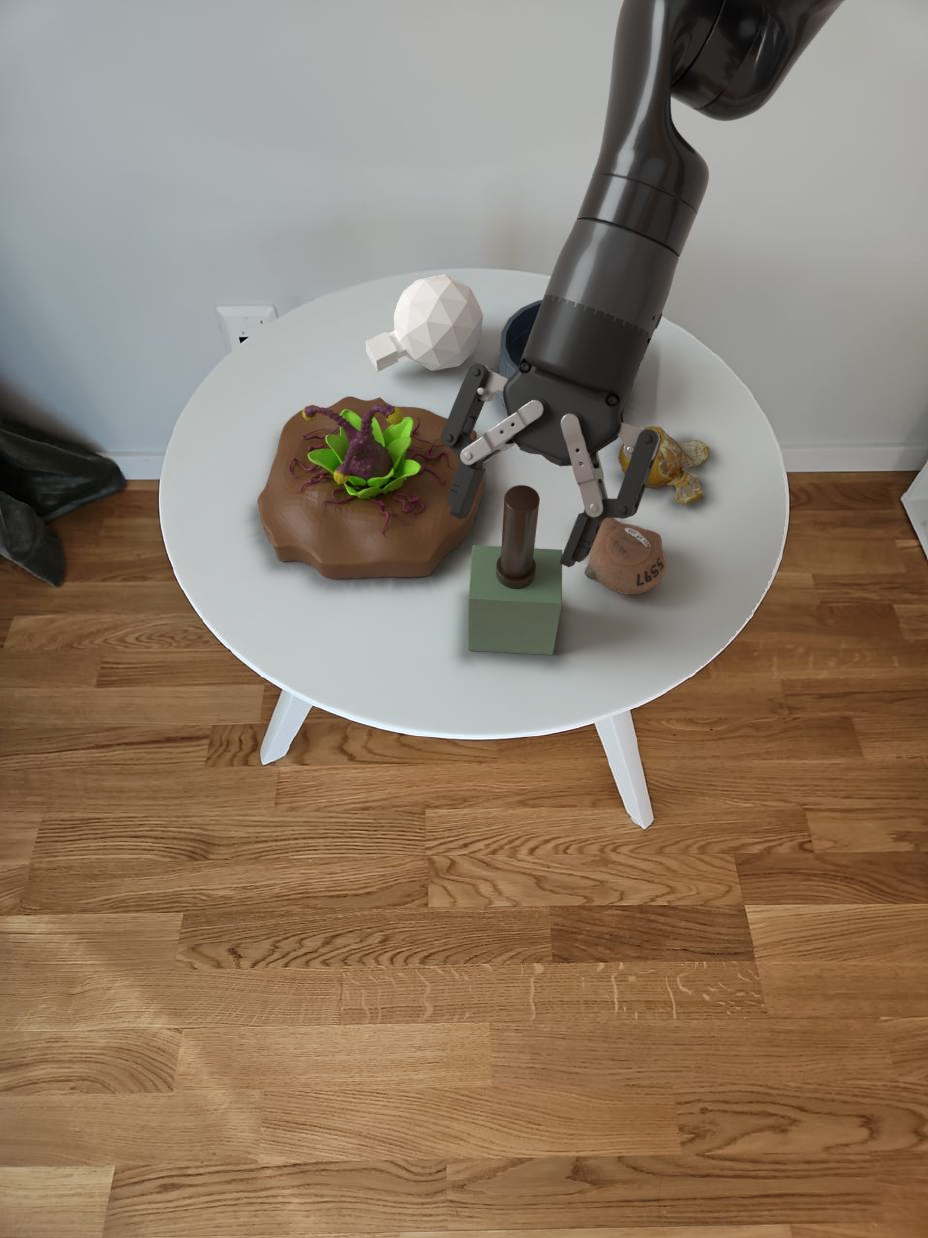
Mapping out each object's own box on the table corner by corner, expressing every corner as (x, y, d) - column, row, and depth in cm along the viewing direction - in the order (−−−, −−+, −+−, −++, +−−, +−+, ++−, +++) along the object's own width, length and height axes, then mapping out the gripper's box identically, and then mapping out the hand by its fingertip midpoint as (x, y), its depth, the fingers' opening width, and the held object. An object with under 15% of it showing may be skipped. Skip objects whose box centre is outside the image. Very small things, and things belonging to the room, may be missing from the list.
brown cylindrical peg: (535, 557, 69) (544, 482, 62) (534, 590, 68) (543, 516, 60) (496, 555, 69) (500, 479, 62) (494, 588, 68) (498, 514, 60)
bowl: (623, 347, 93) (632, 299, 88) (626, 439, 86) (637, 393, 81) (501, 342, 93) (503, 294, 88) (495, 432, 87) (497, 386, 82)
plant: (461, 598, 77) (461, 518, 67) (241, 567, 79) (210, 483, 69) (497, 427, 87) (501, 336, 78) (301, 402, 89) (281, 310, 79)
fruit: (700, 511, 82) (710, 485, 79) (610, 494, 83) (615, 468, 80) (709, 444, 86) (718, 417, 83) (622, 429, 87) (629, 402, 84)
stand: (553, 604, 77) (562, 549, 70) (552, 655, 74) (562, 603, 67) (471, 599, 77) (472, 544, 70) (468, 650, 74) (468, 598, 67)
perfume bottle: (455, 294, 94) (354, 343, 93) (459, 240, 85) (346, 293, 84) (496, 361, 93) (394, 412, 91) (504, 313, 84) (390, 369, 82)
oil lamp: (664, 533, 82) (576, 521, 82) (672, 501, 78) (581, 489, 79) (660, 608, 76) (565, 594, 77) (669, 577, 73) (570, 563, 74)
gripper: (484, 264, 57) (402, 504, 61) (697, 339, 53) (593, 588, 58) (518, 286, 64) (442, 500, 68) (708, 353, 60) (615, 574, 65)
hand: (512, 540), depth 63 cm, fingers open, 8 cm apart
